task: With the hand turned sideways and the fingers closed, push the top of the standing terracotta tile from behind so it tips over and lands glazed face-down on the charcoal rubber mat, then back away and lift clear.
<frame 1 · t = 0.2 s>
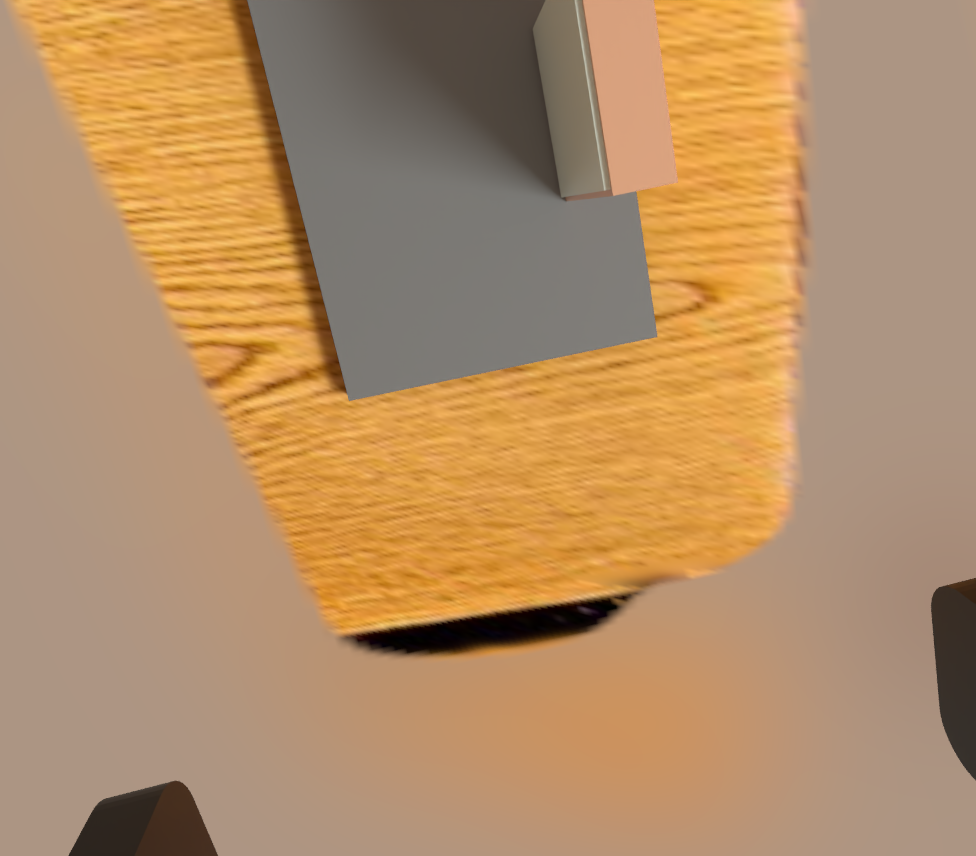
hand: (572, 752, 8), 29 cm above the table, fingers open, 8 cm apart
tile: (575, 110, 33), point 1 cm above the table, touching mat
mat: (456, 137, 34), on the table
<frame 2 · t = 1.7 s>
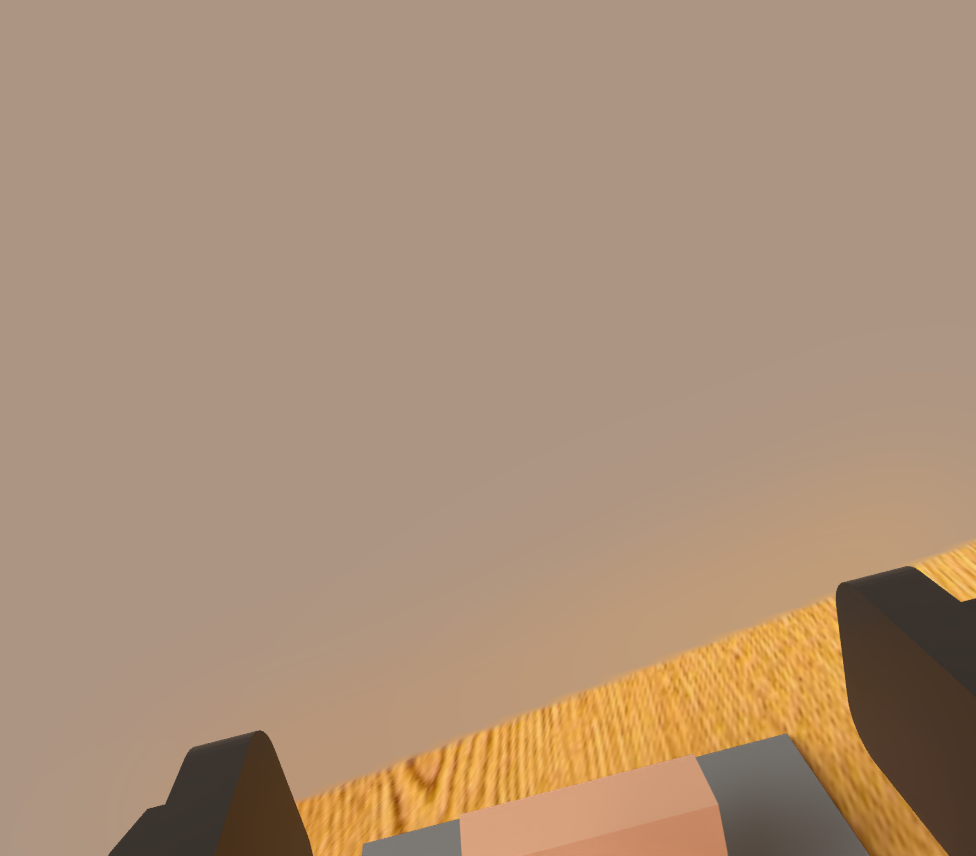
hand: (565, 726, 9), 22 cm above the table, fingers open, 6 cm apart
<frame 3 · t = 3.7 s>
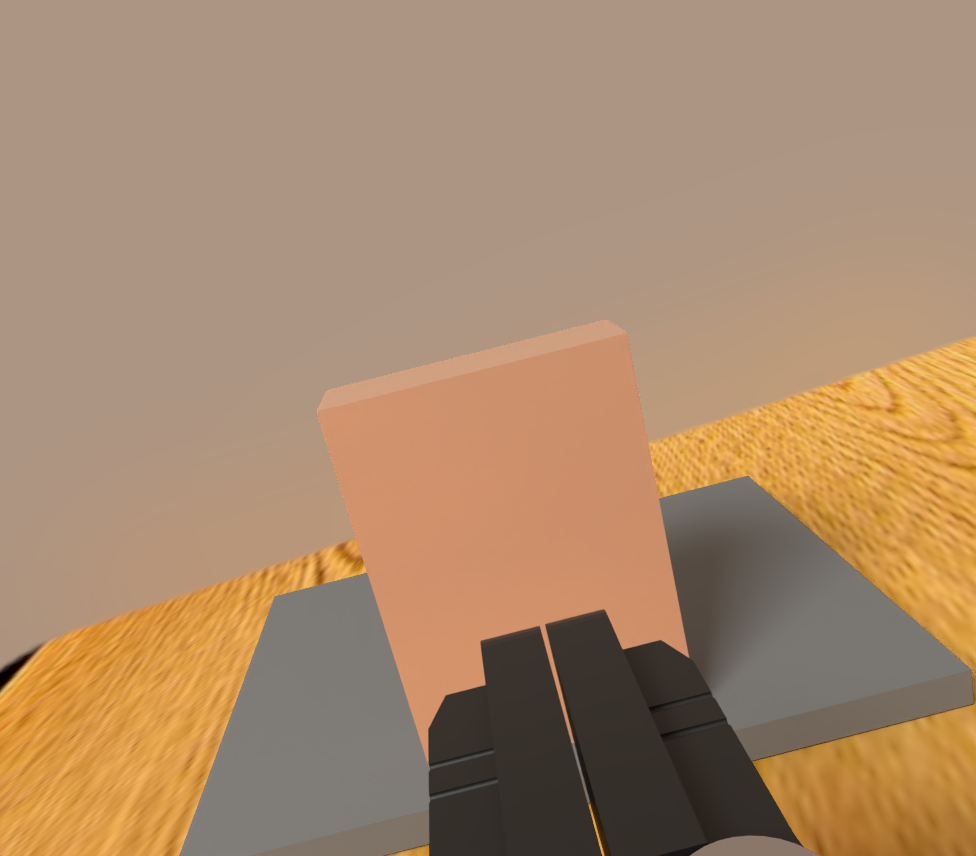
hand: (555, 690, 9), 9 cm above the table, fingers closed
tile: (559, 720, 21), point 1 cm above the table, touching mat
mat: (541, 649, 26), on the table
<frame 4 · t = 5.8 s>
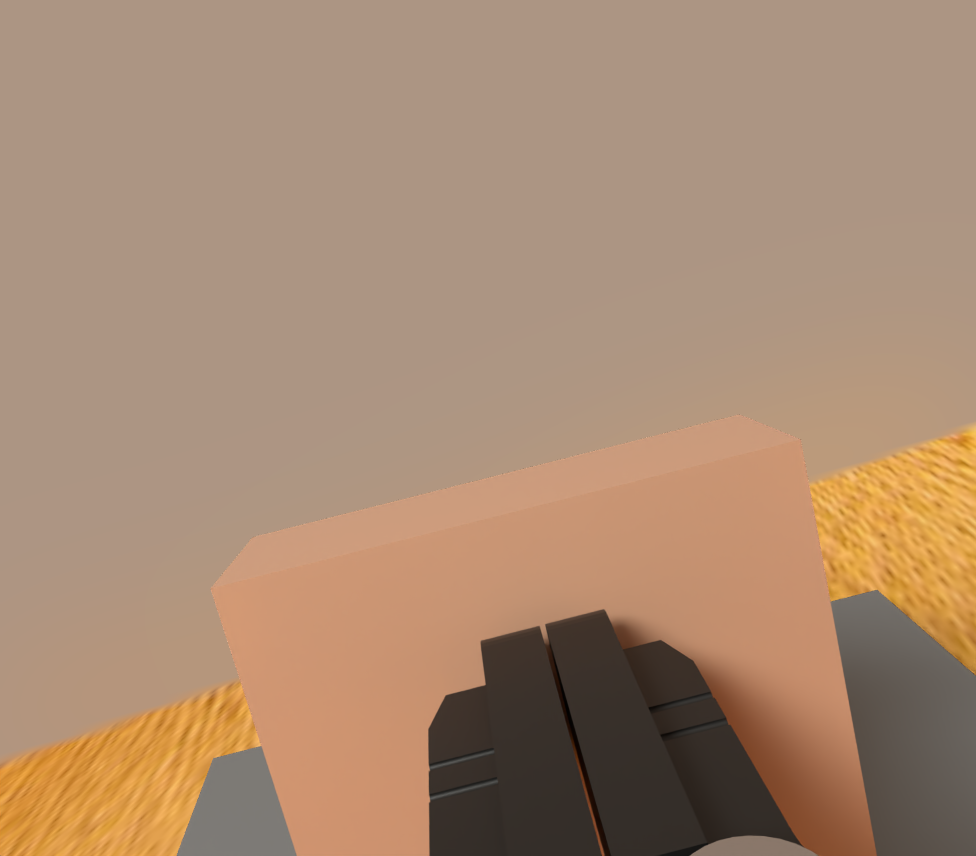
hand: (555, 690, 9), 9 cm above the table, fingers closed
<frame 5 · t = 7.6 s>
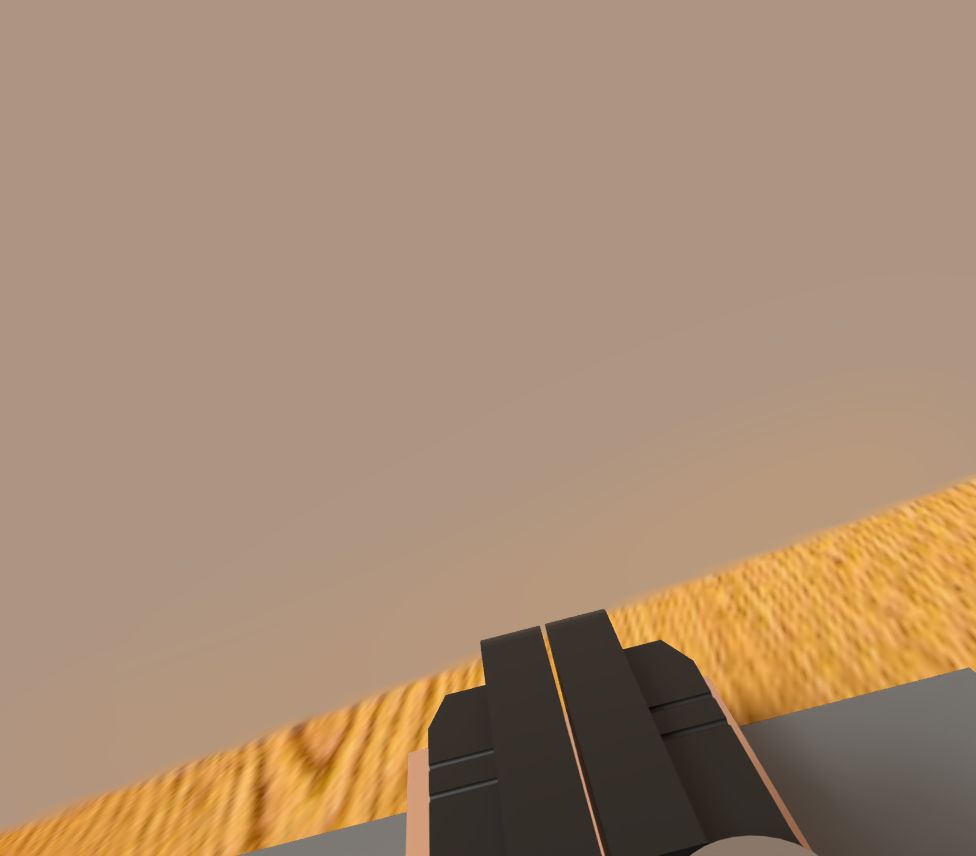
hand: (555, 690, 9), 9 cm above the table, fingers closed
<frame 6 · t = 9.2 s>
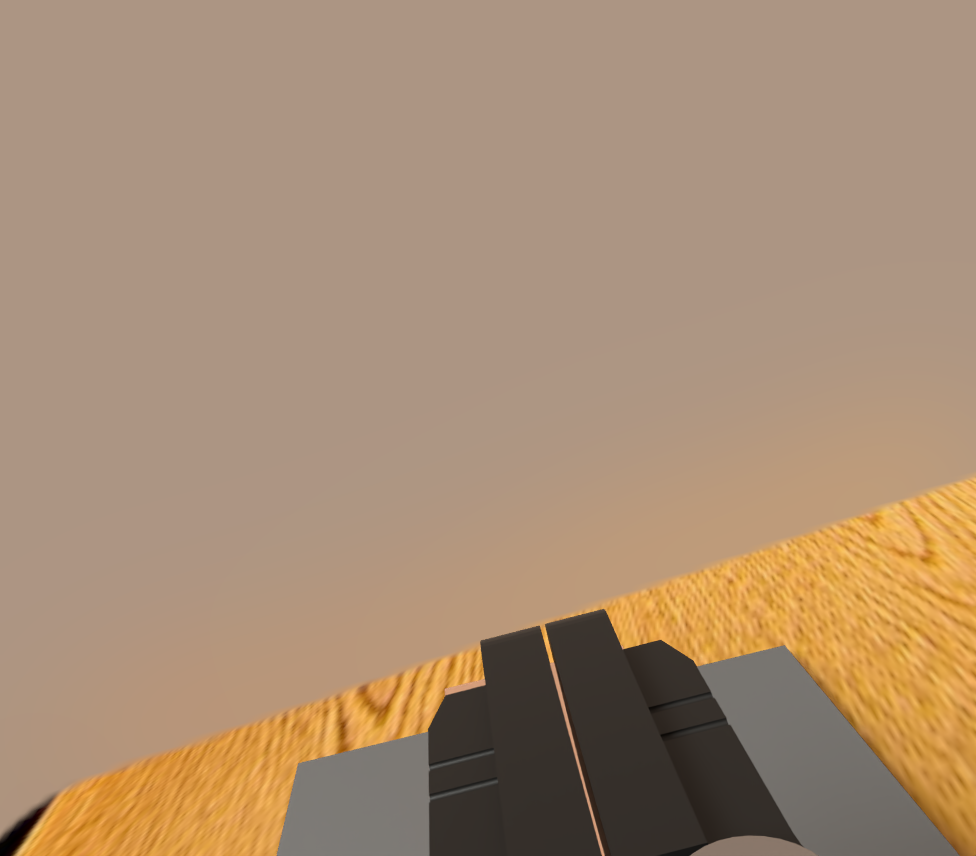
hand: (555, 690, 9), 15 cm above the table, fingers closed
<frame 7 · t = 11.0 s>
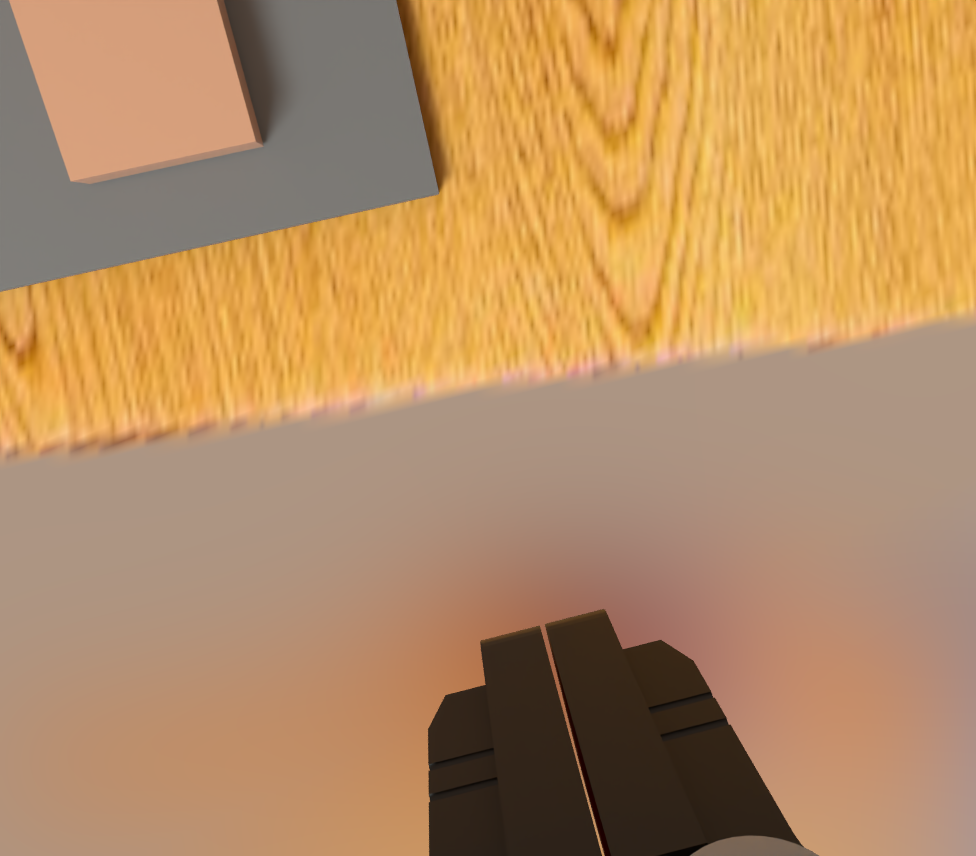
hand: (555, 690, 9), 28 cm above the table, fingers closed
tile: (170, 163, 31), point 2 cm above the table, tilted 90°, touching mat
mat: (155, 71, 32), on the table
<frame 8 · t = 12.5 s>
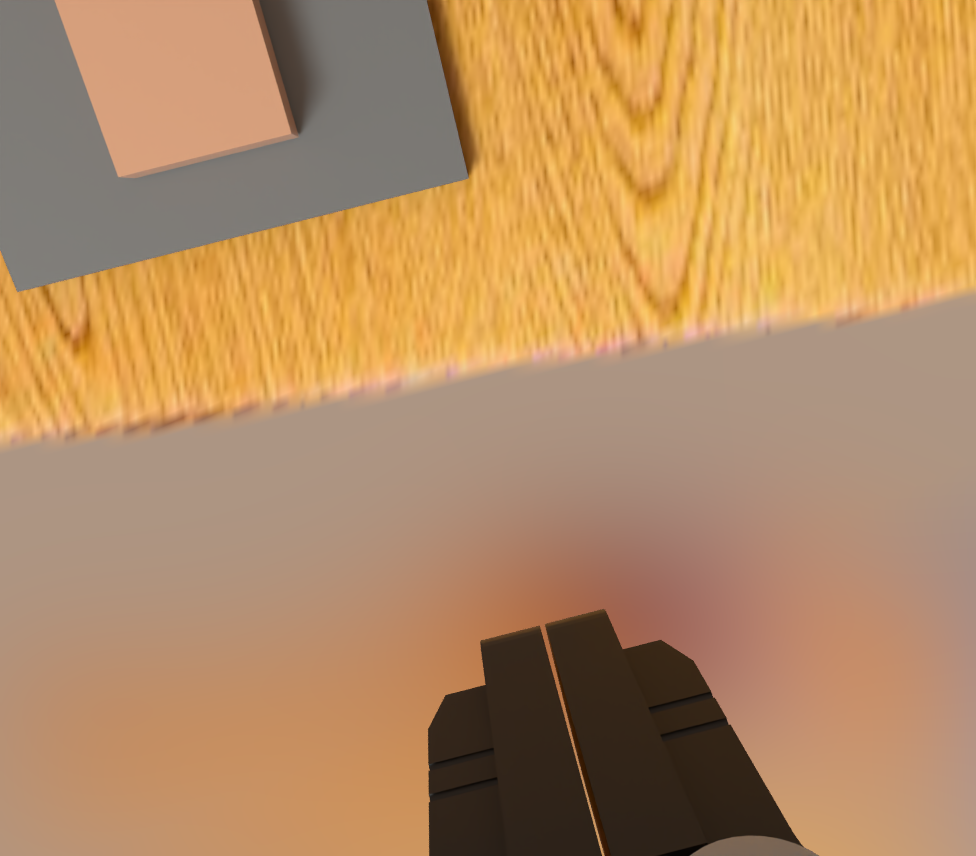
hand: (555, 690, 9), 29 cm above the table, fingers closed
tile: (211, 156, 32), point 2 cm above the table, tilted 90°, touching mat
mat: (194, 66, 33), on the table
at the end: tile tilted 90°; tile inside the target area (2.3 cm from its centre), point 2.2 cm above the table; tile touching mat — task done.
